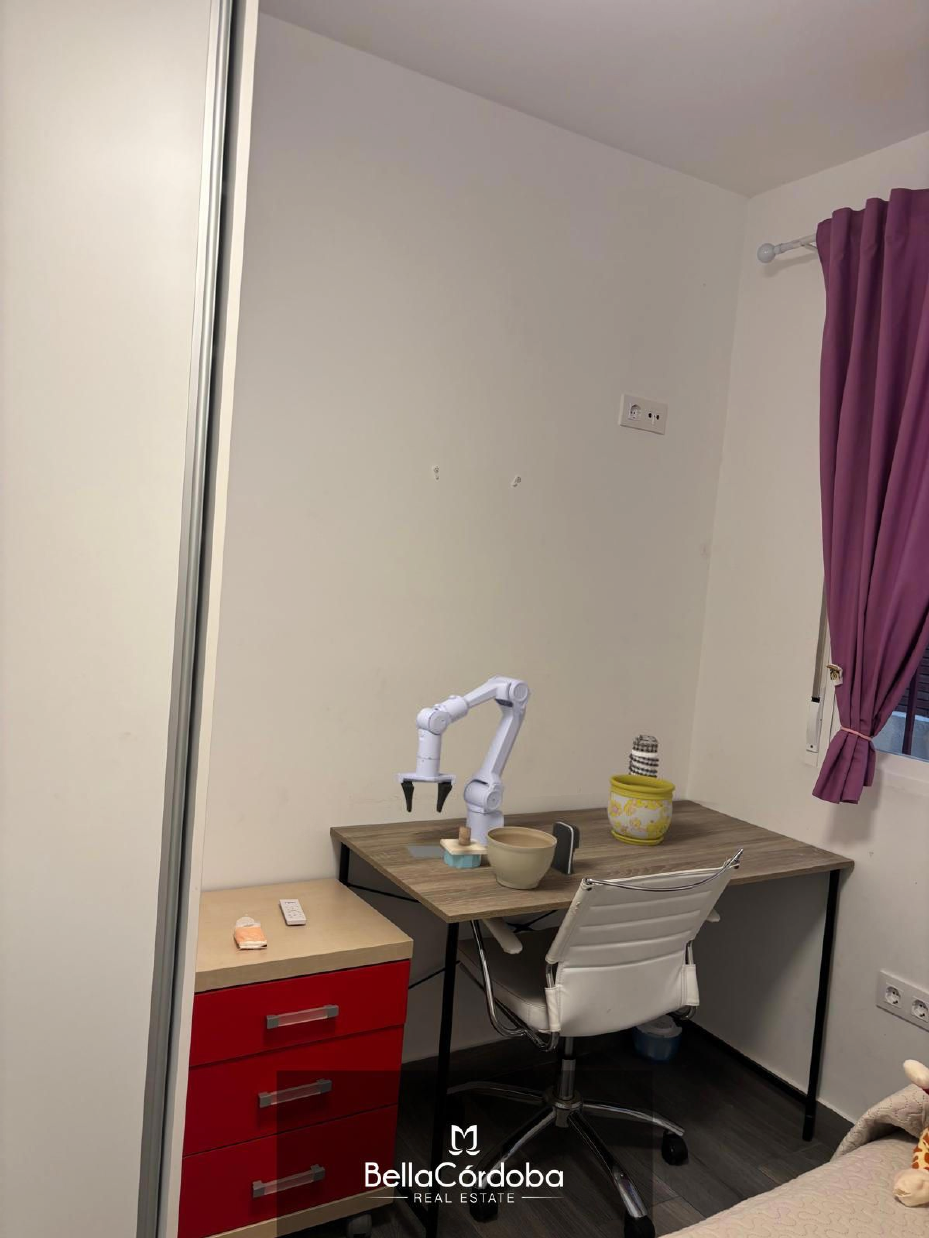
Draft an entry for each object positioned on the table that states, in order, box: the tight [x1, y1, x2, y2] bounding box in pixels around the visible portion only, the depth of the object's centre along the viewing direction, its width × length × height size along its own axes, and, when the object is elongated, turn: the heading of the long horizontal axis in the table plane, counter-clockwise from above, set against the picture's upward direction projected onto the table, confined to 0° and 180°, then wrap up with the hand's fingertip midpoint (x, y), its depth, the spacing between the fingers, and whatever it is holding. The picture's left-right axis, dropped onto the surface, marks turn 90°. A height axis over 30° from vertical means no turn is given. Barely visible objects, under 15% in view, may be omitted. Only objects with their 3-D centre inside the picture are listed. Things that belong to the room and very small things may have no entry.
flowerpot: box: [606, 774, 676, 847], centre depth 262 cm, size 18×18×16 cm
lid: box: [439, 825, 487, 855], centre depth 224 cm, size 9×9×5 cm
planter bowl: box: [486, 826, 557, 890], centre depth 214 cm, size 16×16×11 cm
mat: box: [405, 845, 445, 858], centre depth 231 cm, size 9×9×1 cm
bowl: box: [443, 847, 482, 870], centre depth 224 cm, size 8×8×4 cm
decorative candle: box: [627, 734, 660, 778], centre depth 289 cm, size 9×9×25 cm
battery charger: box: [549, 821, 581, 875], centre depth 227 cm, size 7×4×11 cm, turn 32°
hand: (423, 811), depth 232 cm, fingers open, 7 cm apart
